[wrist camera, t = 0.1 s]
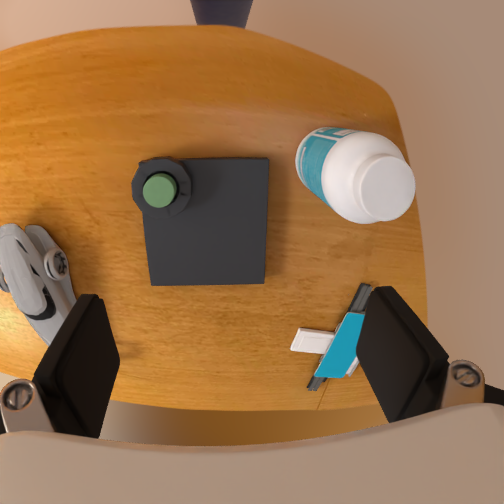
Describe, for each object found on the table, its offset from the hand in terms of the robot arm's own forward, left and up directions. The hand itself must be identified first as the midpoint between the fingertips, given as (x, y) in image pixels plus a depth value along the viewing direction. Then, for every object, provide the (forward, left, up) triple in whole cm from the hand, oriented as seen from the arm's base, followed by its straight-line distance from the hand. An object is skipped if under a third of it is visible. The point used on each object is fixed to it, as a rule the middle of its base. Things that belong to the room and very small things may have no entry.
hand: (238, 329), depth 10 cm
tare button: (0, -6, -21) cm, 22 cm away
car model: (+14, -24, -24) cm, 37 cm away
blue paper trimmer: (+22, +15, -24) cm, 36 cm away
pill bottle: (-3, +11, -24) cm, 26 cm away
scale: (+4, -2, -24) cm, 24 cm away
